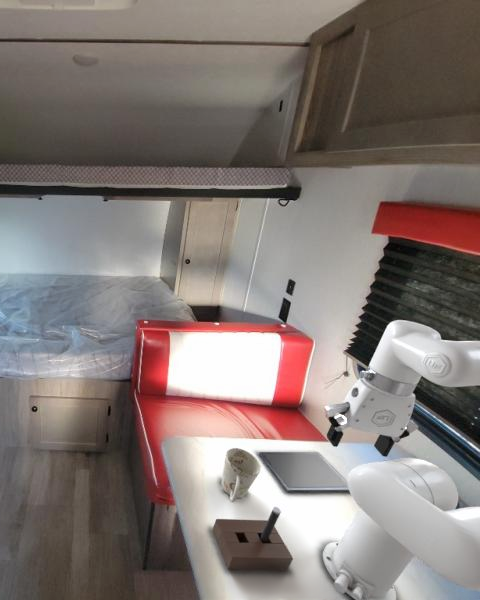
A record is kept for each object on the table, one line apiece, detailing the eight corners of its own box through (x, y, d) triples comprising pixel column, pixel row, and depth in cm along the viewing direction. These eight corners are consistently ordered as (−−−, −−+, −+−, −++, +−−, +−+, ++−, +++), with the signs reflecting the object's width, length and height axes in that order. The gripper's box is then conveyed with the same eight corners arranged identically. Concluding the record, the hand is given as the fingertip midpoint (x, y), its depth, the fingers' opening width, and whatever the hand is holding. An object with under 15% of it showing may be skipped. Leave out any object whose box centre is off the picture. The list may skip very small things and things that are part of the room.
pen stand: (287, 570, 72) (293, 558, 70) (227, 569, 71) (232, 557, 69) (266, 531, 79) (271, 520, 78) (212, 530, 78) (216, 518, 77)
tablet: (317, 454, 105) (318, 452, 104) (352, 491, 93) (353, 489, 92) (258, 453, 102) (259, 451, 102) (286, 492, 90) (287, 489, 90)
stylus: (260, 554, 74) (278, 514, 70) (254, 548, 75) (272, 508, 71) (263, 550, 75) (282, 511, 70) (257, 545, 76) (275, 505, 71)
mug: (250, 483, 92) (260, 456, 88) (248, 522, 81) (260, 493, 77) (218, 470, 95) (227, 443, 91) (213, 505, 84) (223, 476, 81)
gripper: (352, 383, 64) (321, 451, 70) (453, 400, 62) (412, 469, 68) (332, 363, 71) (305, 426, 77) (422, 378, 69) (387, 442, 75)
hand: (355, 446), depth 73 cm, fingers open, 9 cm apart
